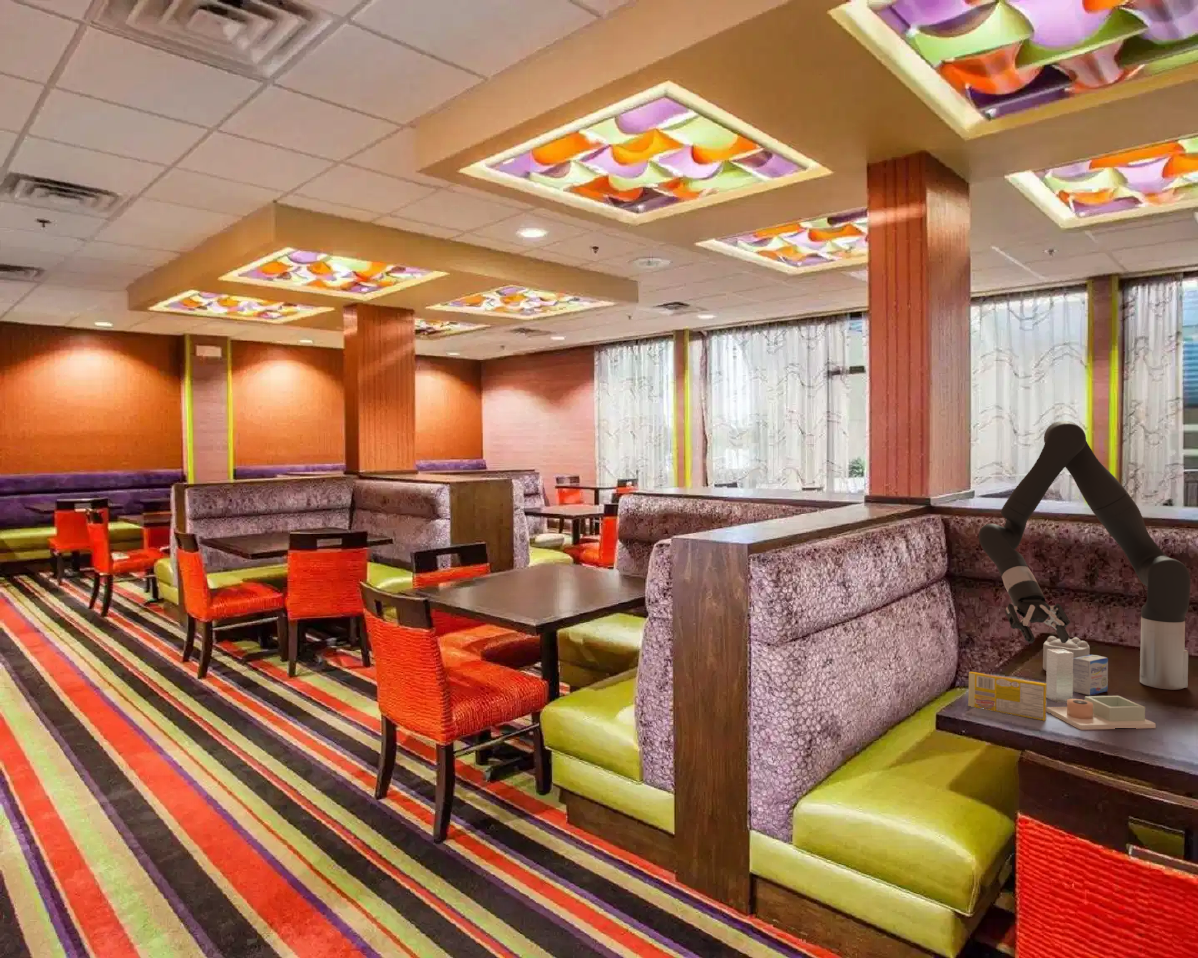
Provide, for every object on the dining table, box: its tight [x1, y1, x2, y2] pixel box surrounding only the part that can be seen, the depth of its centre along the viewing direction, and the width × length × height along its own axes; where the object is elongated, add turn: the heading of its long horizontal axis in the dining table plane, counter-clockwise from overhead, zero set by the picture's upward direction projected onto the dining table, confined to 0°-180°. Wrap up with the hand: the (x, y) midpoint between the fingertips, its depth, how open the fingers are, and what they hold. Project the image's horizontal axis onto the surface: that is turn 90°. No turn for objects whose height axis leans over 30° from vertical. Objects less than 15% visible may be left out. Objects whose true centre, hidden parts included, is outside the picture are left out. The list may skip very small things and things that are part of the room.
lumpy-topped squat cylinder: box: [1042, 635, 1091, 671], centre depth 216 cm, size 10×13×9 cm
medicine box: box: [1073, 654, 1109, 696], centre depth 196 cm, size 8×4×9 cm, turn 117°
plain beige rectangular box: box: [1045, 649, 1074, 704], centre depth 189 cm, size 4×4×12 cm
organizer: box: [1046, 695, 1157, 731], centre depth 175 cm, size 17×12×4 cm
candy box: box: [967, 671, 1047, 722], centre depth 180 cm, size 16×2×8 cm, turn 50°
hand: (1048, 641), depth 193 cm, fingers open, 8 cm apart
